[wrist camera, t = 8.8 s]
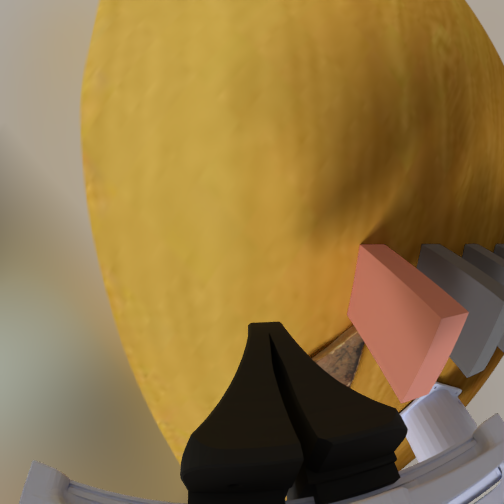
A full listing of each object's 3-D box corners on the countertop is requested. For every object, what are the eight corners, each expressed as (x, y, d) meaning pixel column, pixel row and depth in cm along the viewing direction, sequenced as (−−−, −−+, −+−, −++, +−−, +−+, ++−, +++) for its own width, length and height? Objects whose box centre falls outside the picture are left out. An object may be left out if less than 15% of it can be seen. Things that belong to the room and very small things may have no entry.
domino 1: (439, 243, 16) (518, 297, 9) (422, 305, 18) (483, 369, 11) (421, 243, 16) (504, 302, 9) (405, 307, 18) (467, 378, 11)
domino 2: (477, 243, 17) (546, 287, 9) (461, 298, 19) (518, 350, 11) (465, 243, 17) (538, 291, 9) (449, 300, 18) (507, 356, 11)
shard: (363, 309, 18) (373, 324, 17) (396, 358, 21) (404, 371, 19) (245, 388, 20) (246, 405, 18) (297, 420, 23) (301, 435, 21)
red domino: (384, 244, 16) (468, 312, 9) (369, 312, 18) (428, 394, 10) (359, 244, 16) (441, 318, 8) (347, 314, 18) (401, 403, 10)
